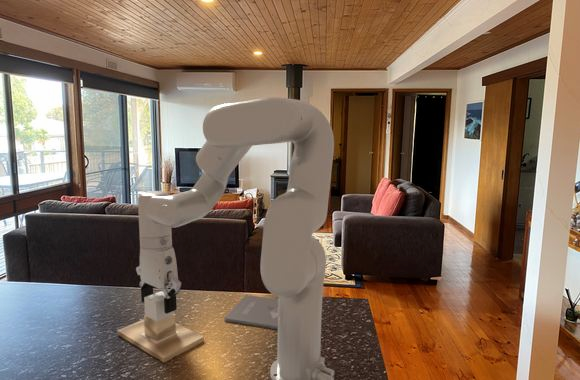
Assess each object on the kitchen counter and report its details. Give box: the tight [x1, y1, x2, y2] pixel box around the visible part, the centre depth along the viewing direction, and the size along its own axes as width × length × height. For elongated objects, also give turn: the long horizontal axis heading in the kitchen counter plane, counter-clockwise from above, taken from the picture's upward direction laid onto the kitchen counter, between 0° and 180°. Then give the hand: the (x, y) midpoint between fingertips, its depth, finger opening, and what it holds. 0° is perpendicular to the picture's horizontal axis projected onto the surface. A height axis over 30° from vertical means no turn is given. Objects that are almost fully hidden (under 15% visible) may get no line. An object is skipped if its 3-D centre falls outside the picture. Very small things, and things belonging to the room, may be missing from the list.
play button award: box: [224, 294, 278, 330], centre depth 119 cm, size 16×2×20 cm
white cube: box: [144, 290, 175, 322], centre depth 103 cm, size 5×5×5 cm
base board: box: [116, 318, 205, 364], centre depth 104 cm, size 20×12×1 cm, turn 53°
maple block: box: [143, 313, 176, 341], centre depth 104 cm, size 6×6×5 cm
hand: (158, 305), depth 103 cm, fingers open, 9 cm apart
